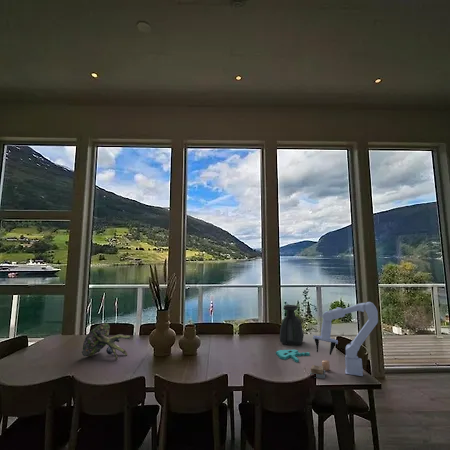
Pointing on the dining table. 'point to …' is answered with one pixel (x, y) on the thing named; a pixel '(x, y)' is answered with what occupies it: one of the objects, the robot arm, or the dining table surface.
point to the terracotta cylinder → (326, 365)
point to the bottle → (291, 327)
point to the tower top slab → (317, 369)
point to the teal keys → (290, 354)
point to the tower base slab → (319, 375)
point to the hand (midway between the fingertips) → (323, 353)
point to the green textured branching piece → (102, 341)
